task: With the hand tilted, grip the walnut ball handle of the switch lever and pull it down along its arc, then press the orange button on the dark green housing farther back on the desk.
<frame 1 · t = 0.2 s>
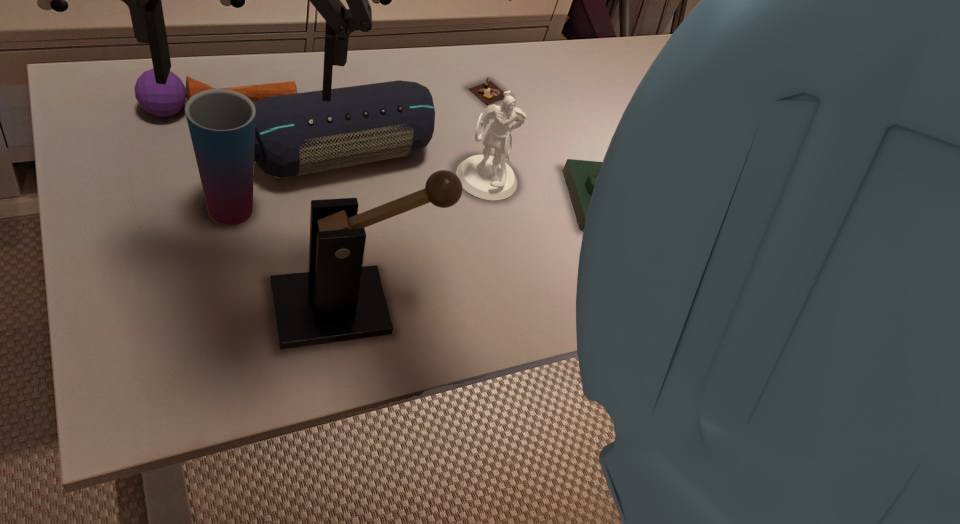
hand: (247, 84, 58), 23 cm above the table, tool pointing down, fingers open, 13 cm apart
figurine: (486, 178, 92), on the table
switch lever: (392, 208, 63), point 15 cm above the table, hinge at 26.0°
cup 2: (754, 195, 104), on the table
button box: (603, 201, 95), on the table
cup: (230, 210, 79), on the table
button: (614, 178, 91), point 4 cm above the table, slide at 0.1 cm
portable speaker: (341, 157, 89), on the table
switch bracket: (331, 308, 73), on the table
kendama: (220, 108, 90), on the table
soda can: (707, 249, 93), on the table
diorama: (488, 93, 106), on the table
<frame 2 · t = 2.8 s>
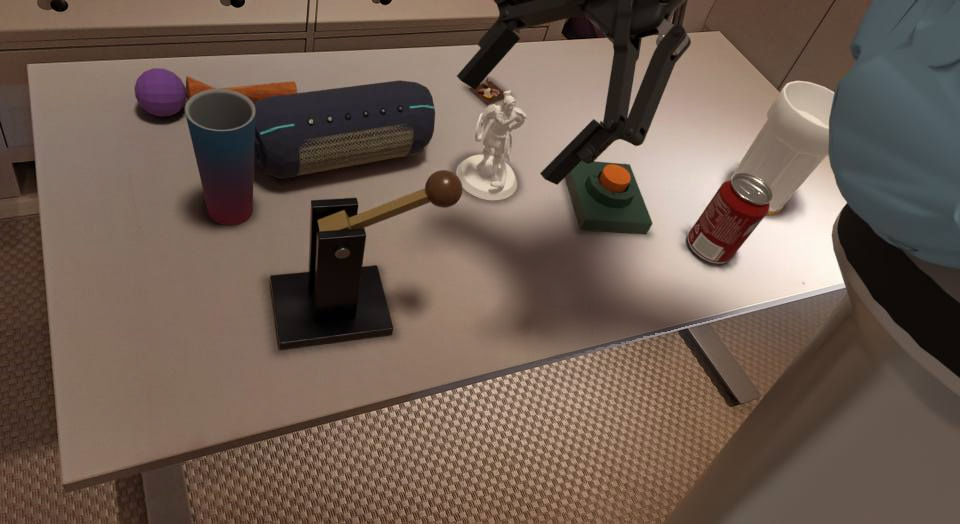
hand: (505, 129, 61), 24 cm above the table, tool tilted 35°, fingers open, 13 cm apart
nothing on the table moved.
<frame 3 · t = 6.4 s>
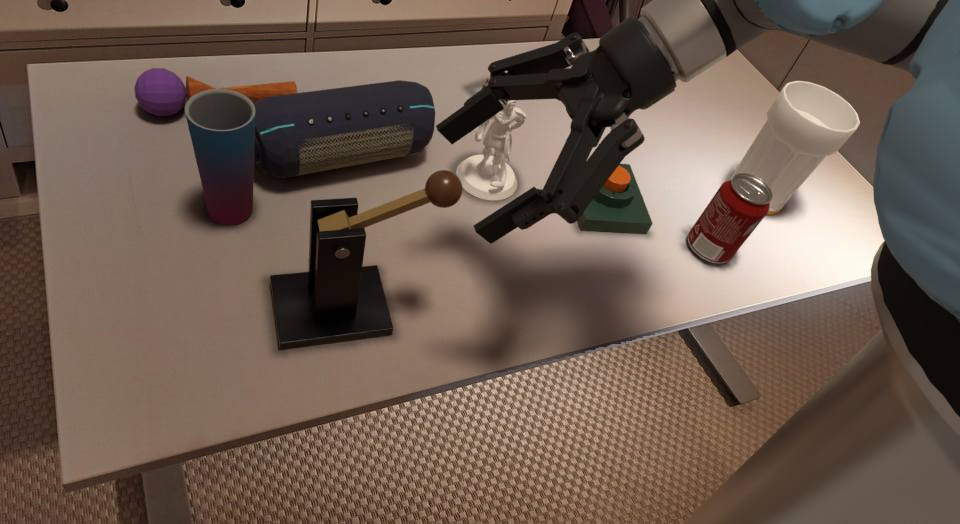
hand: (461, 182, 63), 18 cm above the table, tool tilted 45°, fingers open, 13 cm apart
nothing on the table moved.
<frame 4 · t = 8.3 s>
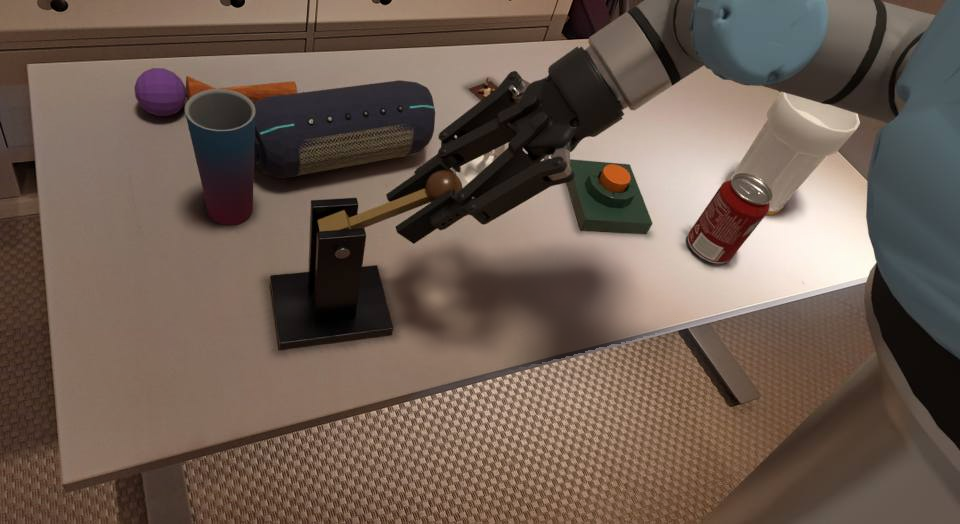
hand: (400, 218, 65), 14 cm above the table, tool tilted 45°, fingers closed on switch lever, 4 cm apart
switch lever: (392, 208, 63), point 15 cm above the table, hinge at 26.0°, touching gripper
everything else where it was.
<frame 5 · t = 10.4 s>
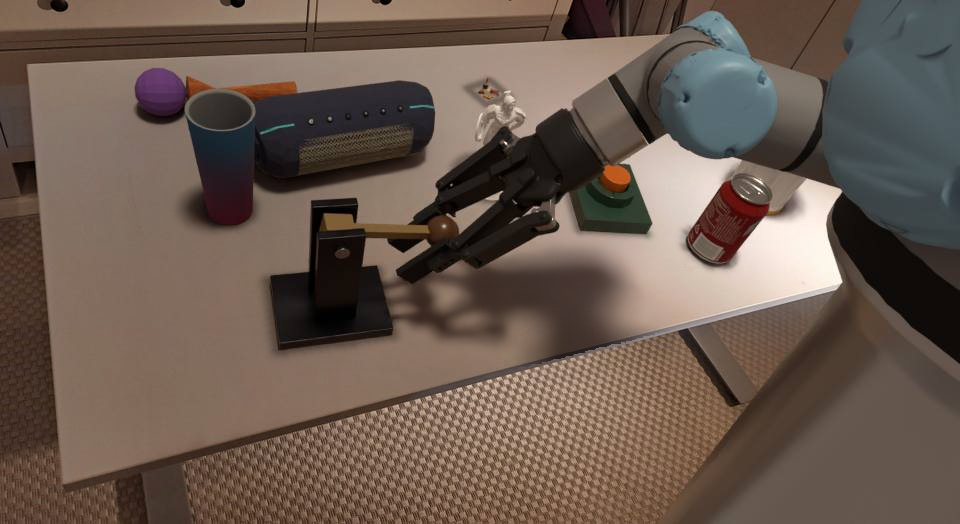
hand: (399, 261, 70), 7 cm above the table, tool tilted 45°, fingers closed on switch lever, 4 cm apart
switch lever: (393, 231, 66), point 12 cm above the table, hinge at -8.5°, touching gripper
everything else where it was.
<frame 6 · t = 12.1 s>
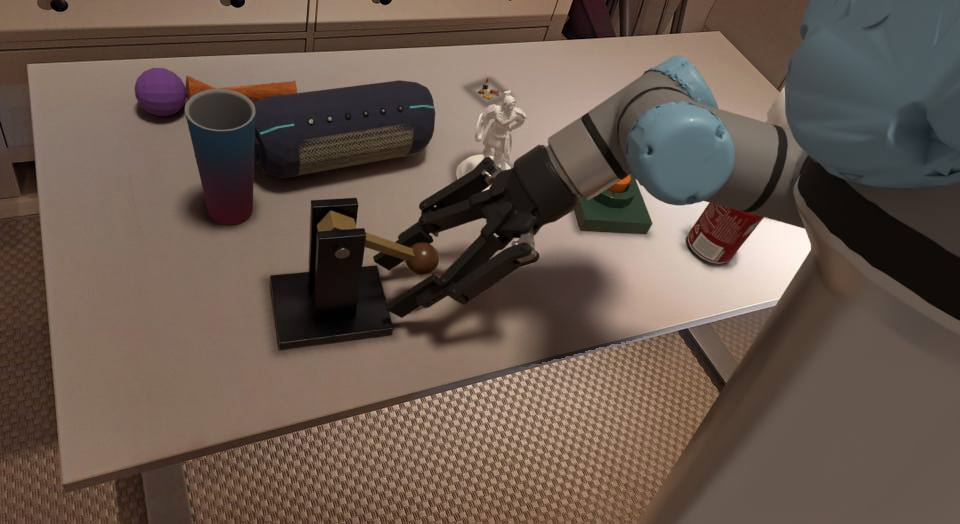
hand: (387, 286, 73), 3 cm above the table, tool tilted 45°, fingers open, 6 cm apart
switch lever: (383, 245, 67), point 10 cm above the table, hinge at -31.3°
everything else where it was.
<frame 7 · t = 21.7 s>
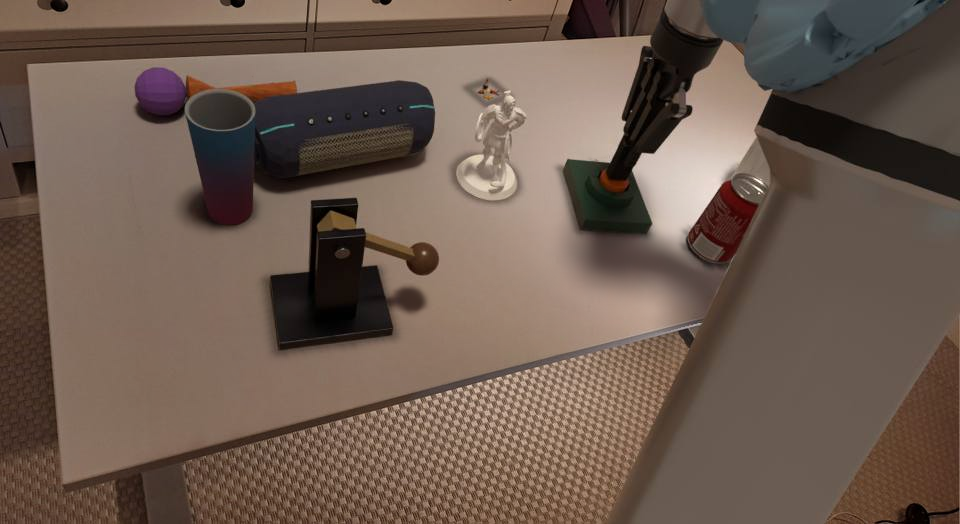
hand: (616, 176, 91), 5 cm above the table, tool pointing down, fingers closed
button: (613, 182, 92), point 4 cm above the table, slide at -0.6 cm, touching gripper
everything else where it was.
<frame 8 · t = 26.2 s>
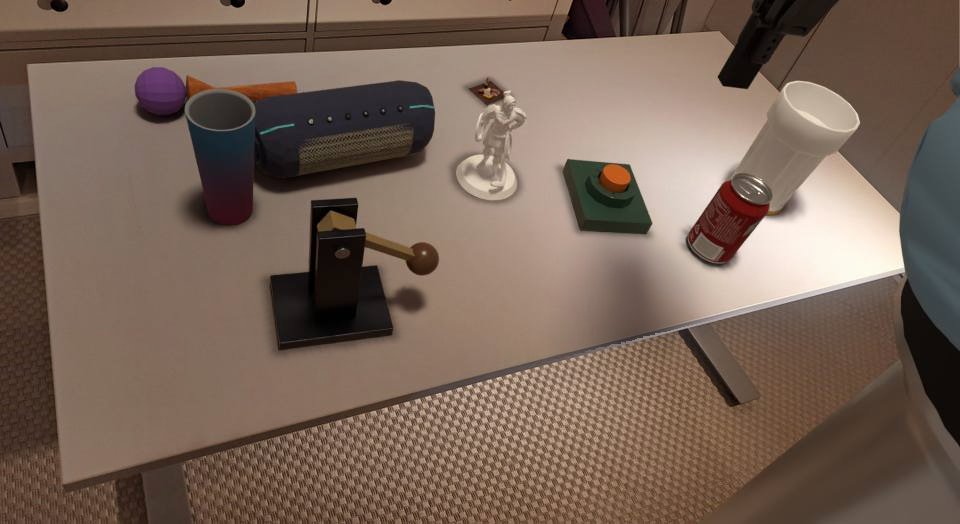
hand: (732, 82, 63), 30 cm above the table, tool pointing down, fingers closed
button: (614, 178, 91), point 4 cm above the table, slide at 0.1 cm
everything else where it was.
at the end: switch lever at -31° (first picture: +26°); button pushed in 1.0 cm at the most during the clip, back to where it started at the end; button slide at 0.1 cm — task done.
